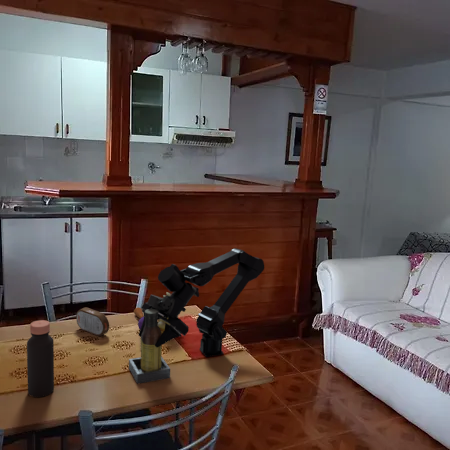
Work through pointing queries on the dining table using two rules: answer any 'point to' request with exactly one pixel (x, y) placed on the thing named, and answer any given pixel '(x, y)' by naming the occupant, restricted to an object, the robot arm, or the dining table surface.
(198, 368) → the dining table surface
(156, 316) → the sauce bottle
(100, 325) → the wooden speaker
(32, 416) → the dining table surface
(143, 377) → the grey square tray
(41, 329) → the dark grey water bottle
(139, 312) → the kendama
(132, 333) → the dining table surface
